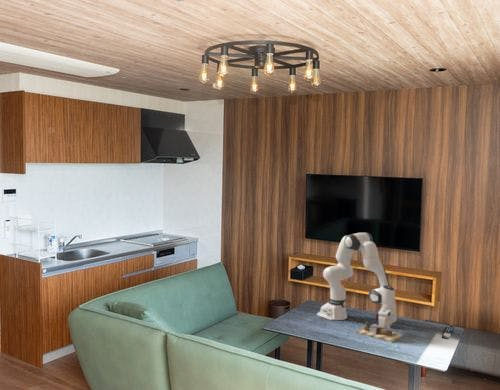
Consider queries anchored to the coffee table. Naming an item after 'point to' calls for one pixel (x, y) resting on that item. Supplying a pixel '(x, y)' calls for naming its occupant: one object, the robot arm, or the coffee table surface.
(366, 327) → the link
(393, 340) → the base board
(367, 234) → the robot arm
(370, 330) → the keeper
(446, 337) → the coffee table surface
